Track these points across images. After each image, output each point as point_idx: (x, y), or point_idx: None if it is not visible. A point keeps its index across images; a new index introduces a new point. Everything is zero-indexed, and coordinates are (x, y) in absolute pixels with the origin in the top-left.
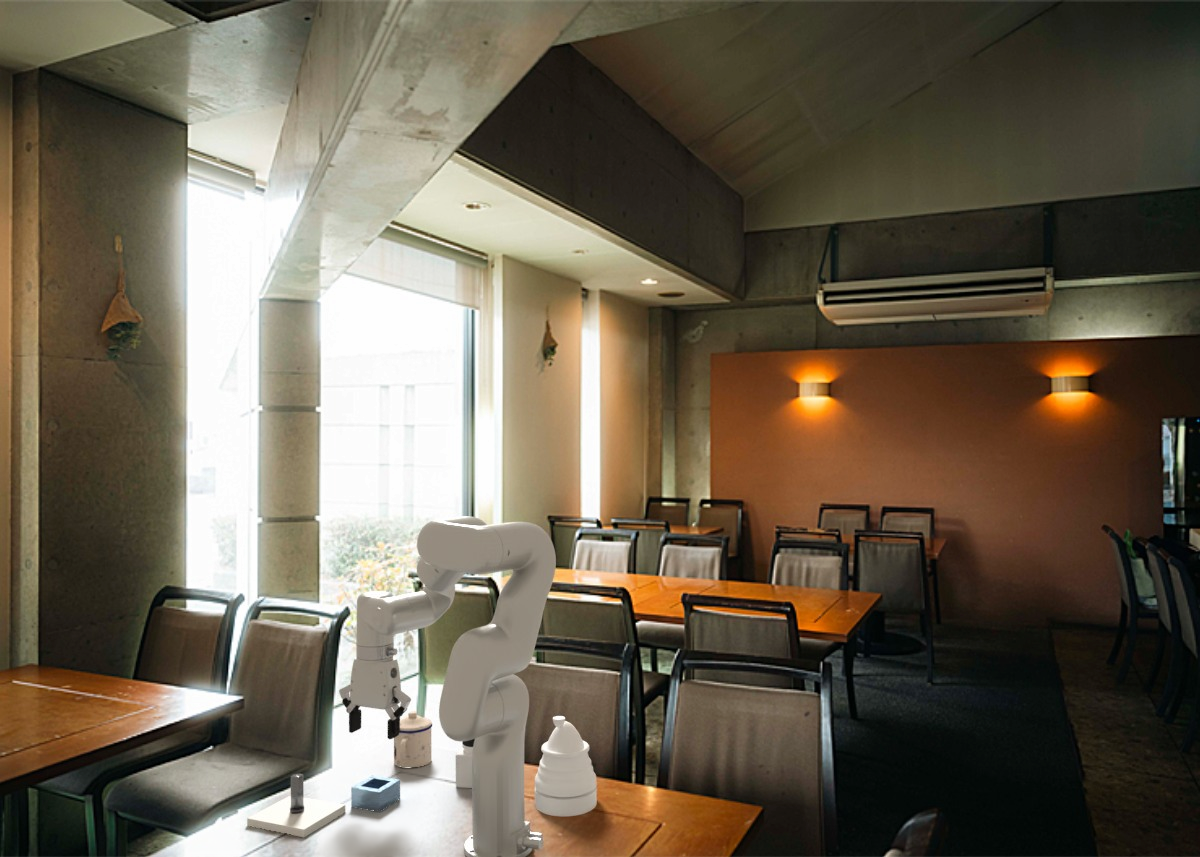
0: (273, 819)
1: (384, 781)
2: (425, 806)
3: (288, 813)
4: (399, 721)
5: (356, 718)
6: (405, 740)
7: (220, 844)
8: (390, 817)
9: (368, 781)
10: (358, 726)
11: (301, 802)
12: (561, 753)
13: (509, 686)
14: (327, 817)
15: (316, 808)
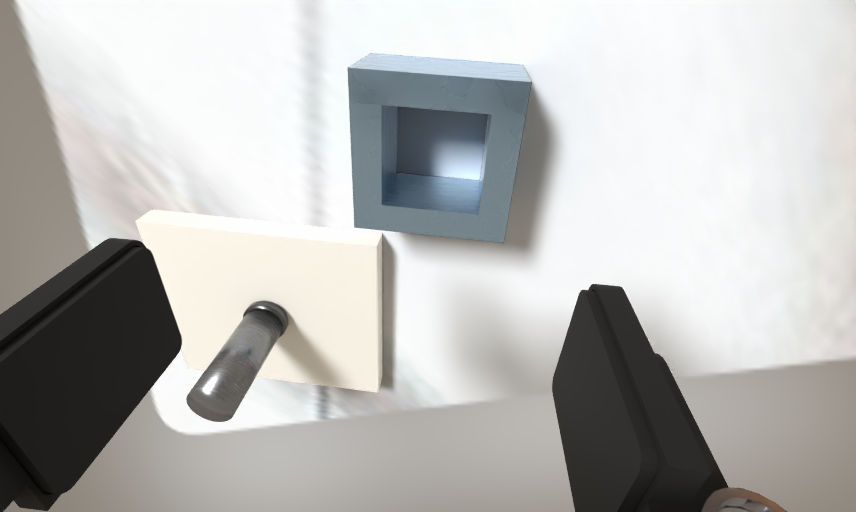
0: None
1: (450, 110)
2: (675, 105)
3: None
4: (708, 461)
5: (85, 392)
6: None
7: (234, 420)
8: (562, 230)
9: (381, 149)
10: (142, 297)
11: (274, 340)
12: None
13: None
14: (379, 317)
15: (306, 288)
